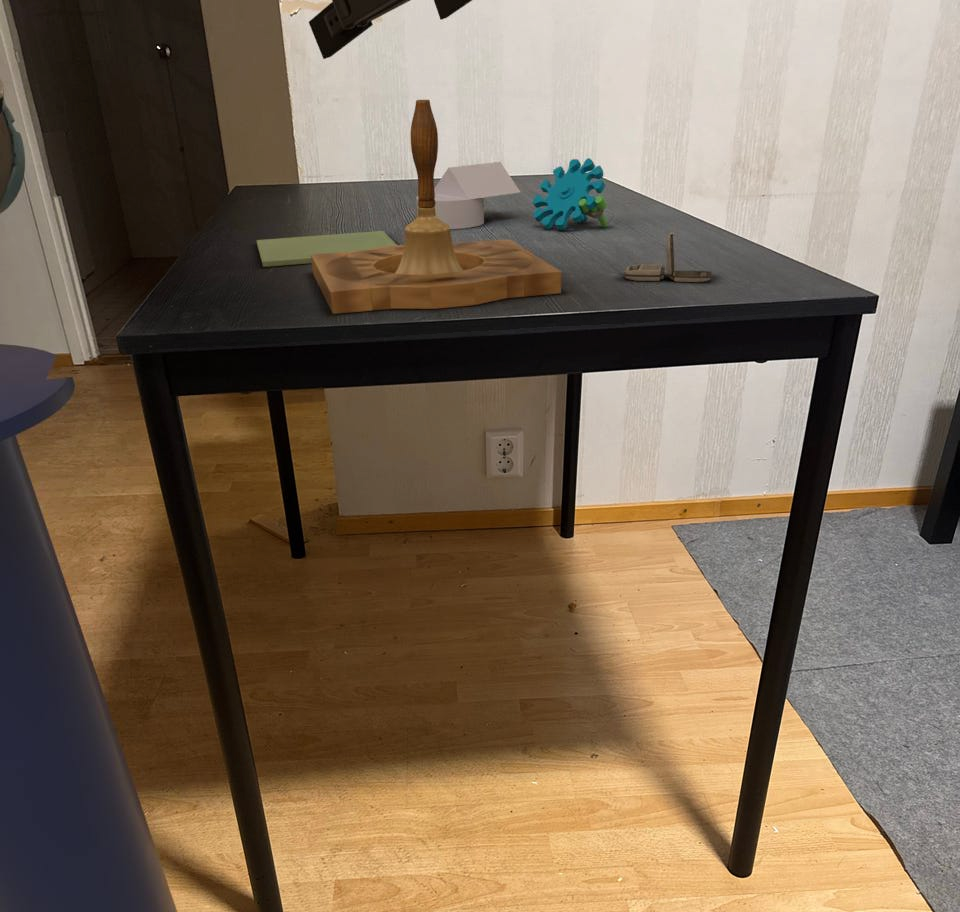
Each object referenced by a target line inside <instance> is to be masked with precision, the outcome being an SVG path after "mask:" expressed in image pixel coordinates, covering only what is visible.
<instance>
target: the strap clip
mask: <svg viewBox="0 0 960 912" xmlns="http://www.w3.org/2000/svg"><path fill="white" fill-rule="evenodd" d="M676 233H677V232H676V231H669V233H668V235H667V239H666V248H665V249H666V250H665V253H666V266H663V265H662V264H643V263H641V264H640V263H639V264H634V265H629V266H627V267H626V269H625V270H624V278H625V279H628V280H631V281H635V282H660V280H664V278H665V270H667V275H668V278H670V280H673V281H674V282H675V283H677V282H679V283H703V282H708V281H710V280H711V279H712V273H713V272H712V271H709V270H675V251H674V249H675V248H674V247H675V246H674V237H675V236H676Z"/></svg>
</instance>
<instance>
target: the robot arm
mask: <svg viewBox="0 0 960 912" xmlns="http://www.w3.org/2000/svg"><path fill="white" fill-rule="evenodd" d="M410 1H411V0H331V2H330V3H329V4H328V5H327V6H325V7H324V8H323V9H321V11H320V12H318V13H317V14H316V15H315V16H314V17H313V18H311V19H310V20H308V24H309V27H310V29H311V32H312V35H313V37H314V39H315V42H316V44H317V47H318V49H319V52H320V54H321V57H322V59H323V60H325V59H329V58H331V57H333V56H334V55H336V54H337V53H338V52H339V51H341V50H342V49H343V48H344V47H346V46H347V45H348V44H350V43H351V42H353V41H354V40H355V39H357V37H359V36H360V35H362V34H363V33H365V32H366V31H367V30H368V29H370V28H371V27H372V26H373V21H374V20H376V19H378V18H380V17H382V16H383V15H385V14H388V13H389V12H392V11H393V10H395V9H397V8H399V7H401V6H403V5H405V4H407V3H409V2H410ZM472 1H473V0H433V2H434V5H435V8H436V10H437V14H438V16H439V17H438V18H439V20H440V21H443V20H444V19H447V18H449V17H450V16H452V15H453V14H455V13H456V12H457V11H459V10H461V9H462V8H463V7H465V6H466V5H468V4H469V3H471V2H472ZM4 97H5V85H4V82H3V81H2V80H1V78H0V215H2V213H4V212H5V211H6V210H7V209H8V208H10V207H11V205H12V204H13V203H14V201H15V200H16V199H17V196H18V195H19V193H20V191H21V189H22V187H23V182H24V178H25V172H26V153H25V146H24V140H23V137H22V134H21V133H20V132H19V131H17V130H16V128H15V127H14V124H13V123H15V118H14V115H13V114H12V112H11V110H10V108H9V107H8V105H7V104H6V103H5V102H4Z"/></svg>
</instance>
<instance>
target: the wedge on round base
mask: <svg viewBox="0 0 960 912" xmlns="http://www.w3.org/2000/svg"><path fill="white" fill-rule="evenodd" d="M434 192H435V198H434V200H435V206H434V207H435V213H436V217H437V218H438V219H440V220H441V221H443V222H444V223H446V224H448V225H449V227H450V230H462V229H470V228H476V227H479V226H482V225H484V224H485V206H484V205H485V204H484V203H485V202H484V200H485V198H490V197H497V196H498V197H499V196H505V195H513V194H519V193H521V192H522V191H520V189H519V187H518V186H517V185H516V183H515V181H514V180H513V178H512V177H511V175H510V174H509V173H508V171H507V169H506V168H505V166H504V165H503V164H502V162H501V161H496V162H485V163H477V164H468V165H459V166H451V167H448V168H446V171H445V172H444V174H443V175H442V177H441V178H440V179H439V181H438V182H437V183H436V185H435V186H434ZM418 200H419V199H418V195H417V196H416V197H415V201H416V216H417V217H418ZM417 217H416V218H417Z"/></svg>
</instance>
